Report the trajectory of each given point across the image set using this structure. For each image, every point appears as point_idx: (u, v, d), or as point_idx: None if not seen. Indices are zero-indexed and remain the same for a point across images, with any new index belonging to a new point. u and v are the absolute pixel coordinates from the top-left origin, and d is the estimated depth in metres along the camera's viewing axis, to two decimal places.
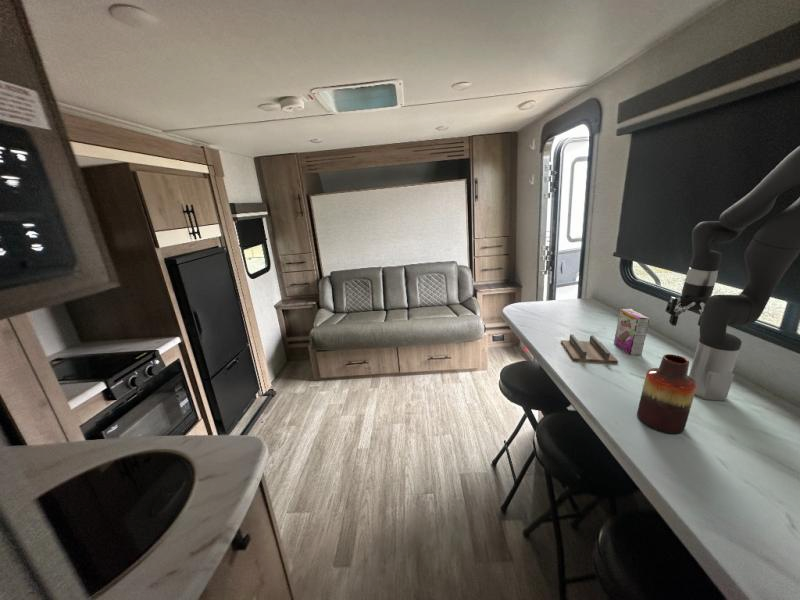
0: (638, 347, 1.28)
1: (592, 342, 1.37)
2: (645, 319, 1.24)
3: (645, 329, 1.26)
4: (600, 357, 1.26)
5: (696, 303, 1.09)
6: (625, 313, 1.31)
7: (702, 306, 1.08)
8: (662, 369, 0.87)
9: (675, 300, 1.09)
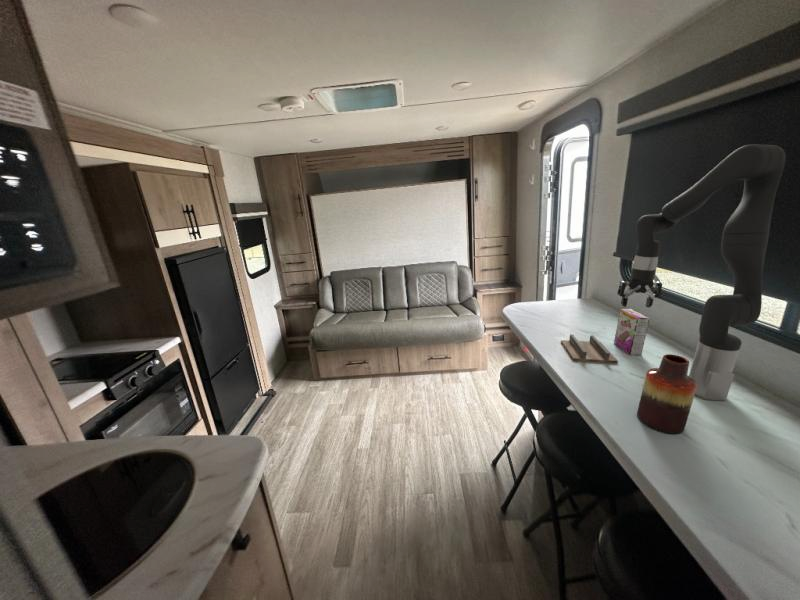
0: (638, 347, 1.28)
1: (592, 342, 1.37)
2: (645, 319, 1.24)
3: (645, 329, 1.26)
4: (600, 357, 1.26)
5: (642, 286, 1.25)
6: (625, 313, 1.31)
7: (647, 288, 1.24)
8: (662, 369, 0.87)
9: (624, 283, 1.26)
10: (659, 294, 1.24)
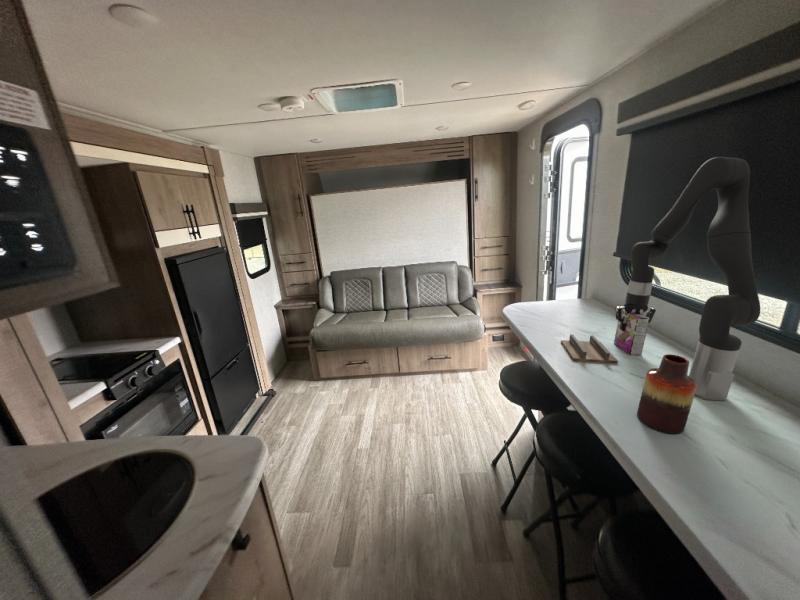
0: (638, 347, 1.28)
1: (592, 342, 1.37)
2: (645, 319, 1.24)
3: (645, 329, 1.26)
4: (600, 357, 1.26)
5: (637, 310, 1.28)
6: (625, 313, 1.31)
7: (641, 313, 1.27)
8: (662, 369, 0.87)
9: (619, 309, 1.29)
10: (650, 320, 1.28)
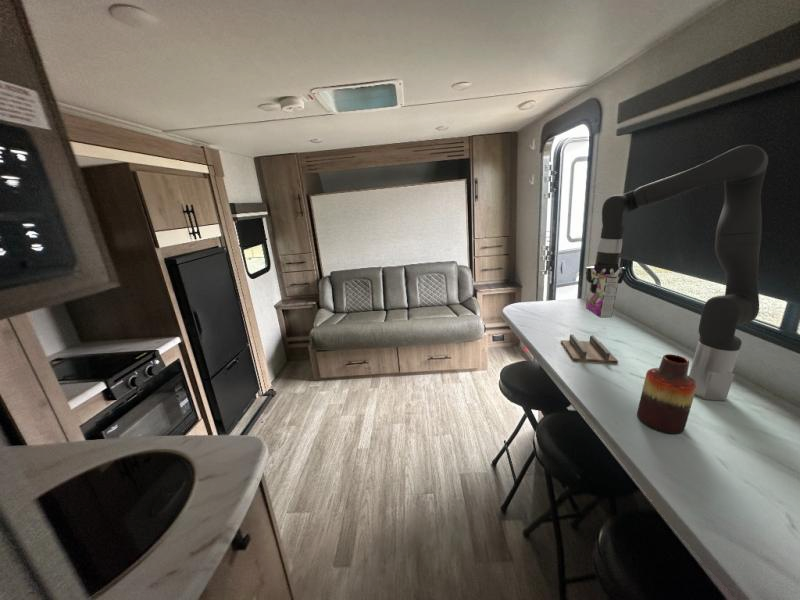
0: (607, 309, 1.22)
1: (592, 342, 1.37)
2: (615, 278, 1.18)
3: (615, 289, 1.20)
4: (600, 357, 1.26)
5: (607, 270, 1.22)
6: (596, 274, 1.25)
7: (611, 272, 1.21)
8: (662, 369, 0.87)
9: (589, 269, 1.23)
10: (621, 280, 1.22)
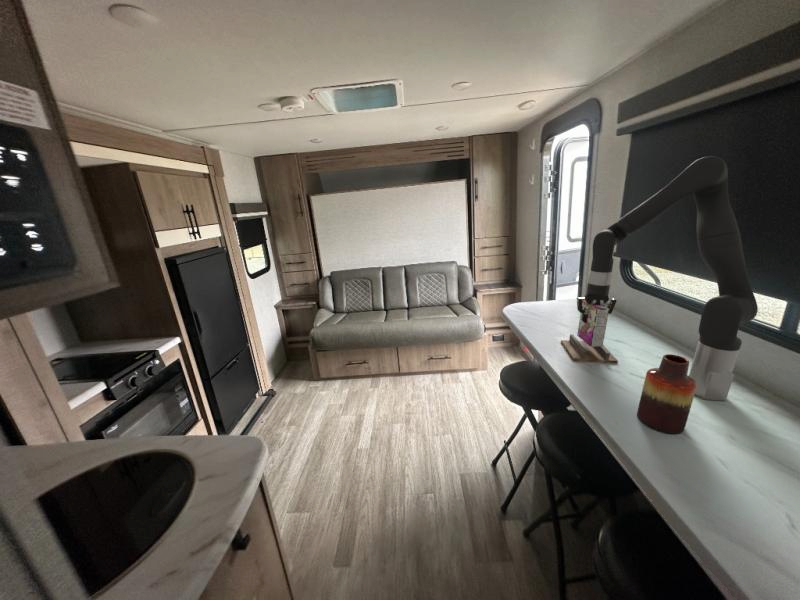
0: (598, 338, 1.25)
1: None
2: (605, 310, 1.22)
3: (605, 320, 1.23)
4: (600, 357, 1.26)
5: (597, 301, 1.25)
6: None
7: (601, 303, 1.24)
8: (662, 369, 0.87)
9: (580, 300, 1.26)
10: (611, 311, 1.25)
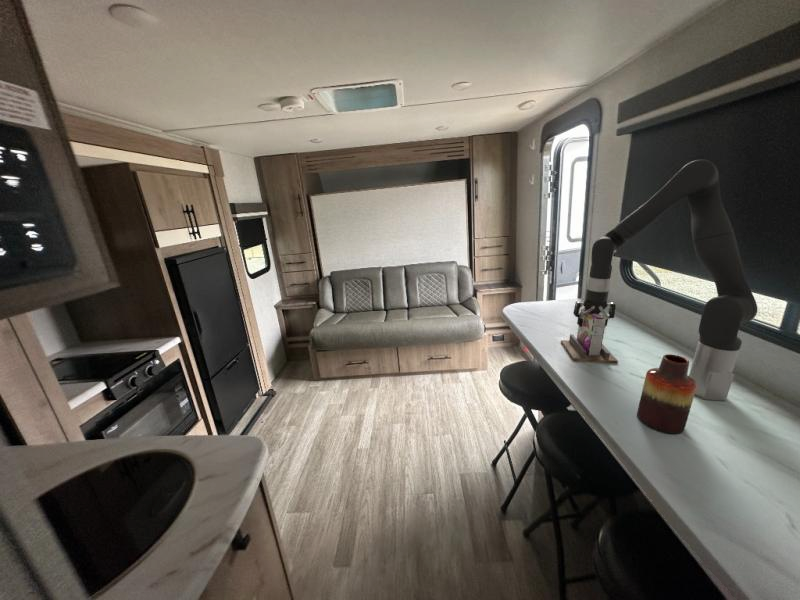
0: (595, 347, 1.26)
1: None
2: (602, 319, 1.23)
3: (602, 329, 1.24)
4: (600, 357, 1.26)
5: (596, 307, 1.26)
6: None
7: (601, 309, 1.25)
8: (662, 369, 0.87)
9: (578, 304, 1.27)
10: (613, 315, 1.25)
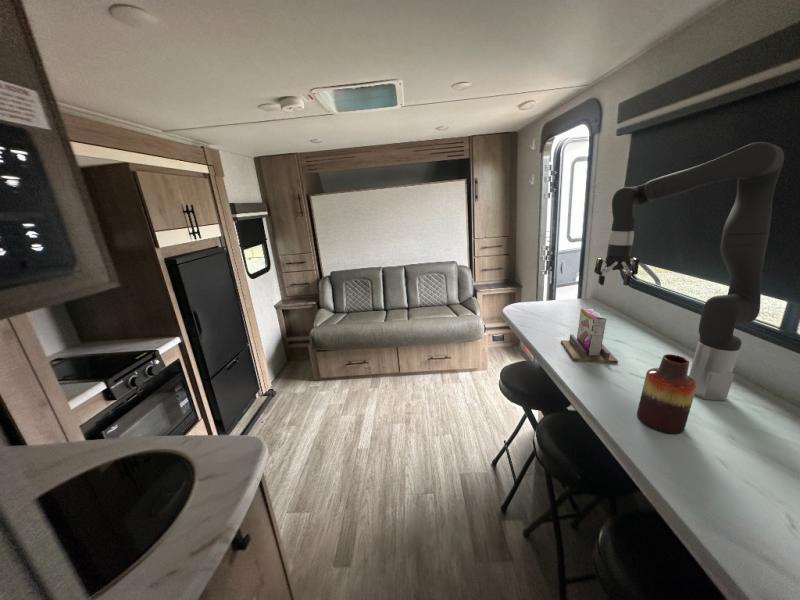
0: (595, 347, 1.26)
1: None
2: (602, 319, 1.23)
3: (602, 329, 1.24)
4: (600, 357, 1.26)
5: (619, 263, 1.21)
6: (584, 313, 1.30)
7: (624, 265, 1.20)
8: (662, 369, 0.87)
9: (600, 260, 1.21)
10: (636, 271, 1.20)
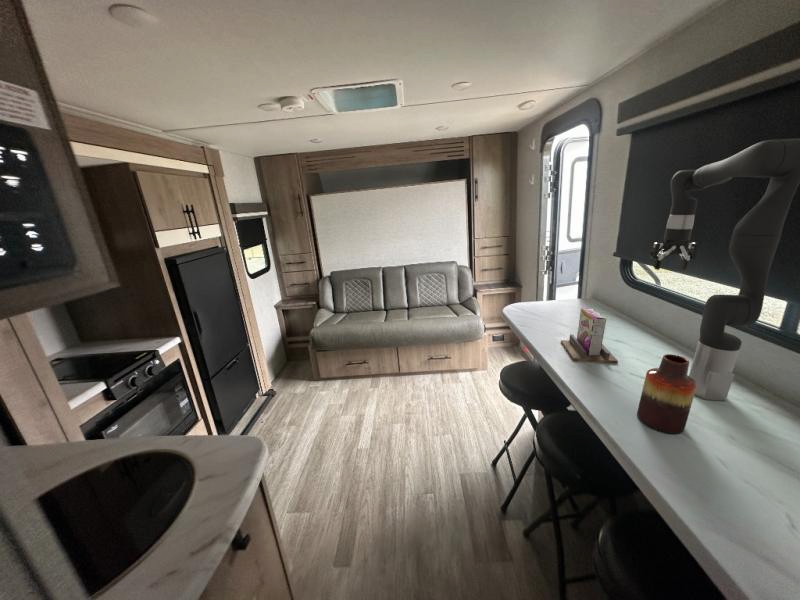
0: (595, 347, 1.26)
1: None
2: (602, 319, 1.23)
3: (602, 329, 1.24)
4: (600, 357, 1.26)
5: (677, 247, 1.20)
6: (584, 313, 1.30)
7: (682, 249, 1.20)
8: (662, 369, 0.87)
9: (658, 245, 1.21)
10: (694, 255, 1.20)
